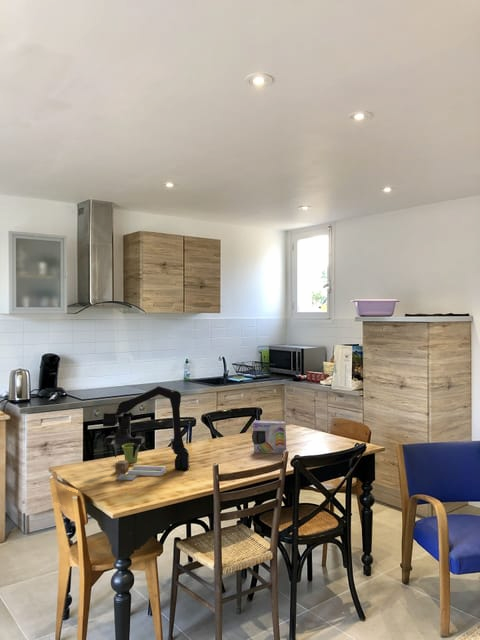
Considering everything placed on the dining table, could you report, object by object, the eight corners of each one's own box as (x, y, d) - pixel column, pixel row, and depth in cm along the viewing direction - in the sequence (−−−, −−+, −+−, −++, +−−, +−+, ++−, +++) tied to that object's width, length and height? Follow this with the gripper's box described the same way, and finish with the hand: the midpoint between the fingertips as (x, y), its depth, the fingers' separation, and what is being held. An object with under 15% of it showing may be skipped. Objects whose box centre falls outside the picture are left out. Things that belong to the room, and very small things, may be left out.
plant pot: (122, 464, 269) (122, 448, 269) (121, 460, 278) (121, 443, 278) (140, 463, 272) (140, 446, 272) (139, 458, 281) (139, 442, 281)
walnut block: (128, 470, 259) (128, 460, 259) (125, 473, 254) (125, 463, 254) (118, 470, 259) (118, 460, 259) (115, 473, 254) (115, 463, 254)
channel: (166, 470, 259) (166, 466, 259) (161, 475, 249) (161, 471, 249) (133, 469, 260) (133, 465, 260) (128, 474, 251) (128, 470, 251)
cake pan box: (251, 452, 293) (251, 421, 293) (254, 450, 298) (253, 419, 298) (284, 454, 288) (284, 423, 288) (286, 452, 293) (286, 421, 293)
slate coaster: (137, 475, 250) (137, 474, 250) (132, 480, 242) (132, 479, 242) (121, 475, 251) (121, 474, 251) (115, 480, 243) (115, 479, 243)
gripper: (100, 428, 249) (100, 461, 249) (137, 429, 247) (138, 462, 247) (108, 424, 260) (108, 455, 260) (144, 424, 258) (144, 456, 258)
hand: (124, 457), depth 256 cm, fingers open, 9 cm apart
